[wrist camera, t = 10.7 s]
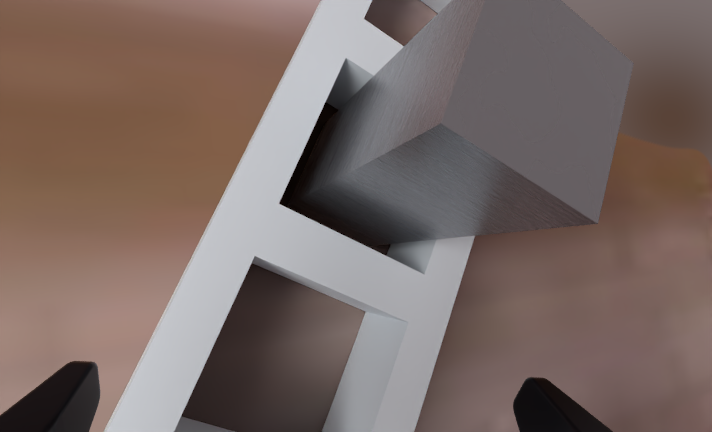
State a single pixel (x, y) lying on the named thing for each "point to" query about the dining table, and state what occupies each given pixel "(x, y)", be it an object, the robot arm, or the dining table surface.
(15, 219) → the dining table surface
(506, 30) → the steel peg
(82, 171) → the dining table surface
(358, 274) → the white flat frame block
